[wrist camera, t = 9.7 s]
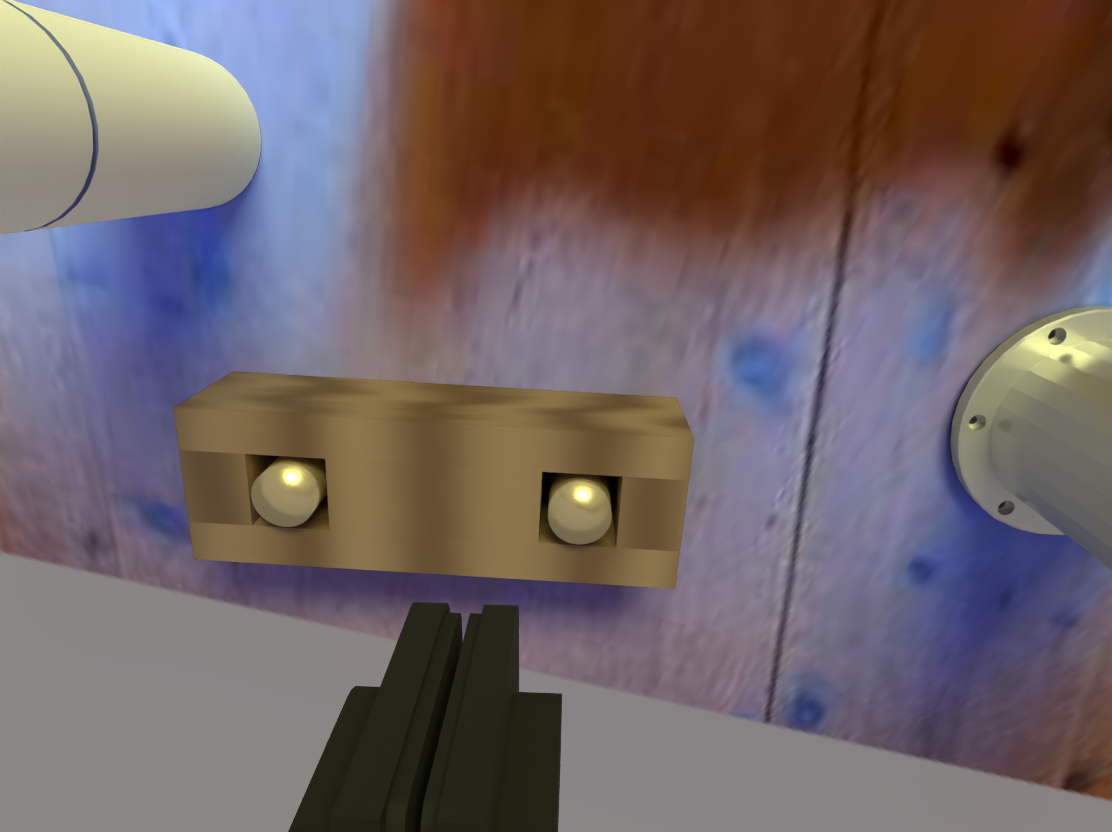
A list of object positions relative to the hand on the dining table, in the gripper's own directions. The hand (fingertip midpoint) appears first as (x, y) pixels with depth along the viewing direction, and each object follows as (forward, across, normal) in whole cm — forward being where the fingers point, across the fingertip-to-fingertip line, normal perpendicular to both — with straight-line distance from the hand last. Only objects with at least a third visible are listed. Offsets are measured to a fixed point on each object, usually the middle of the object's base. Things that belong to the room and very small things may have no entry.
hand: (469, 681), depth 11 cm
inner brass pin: (+27, -2, +8) cm, 28 cm away
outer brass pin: (+27, +12, +7) cm, 30 cm away
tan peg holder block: (+27, +5, +8) cm, 29 cm away
